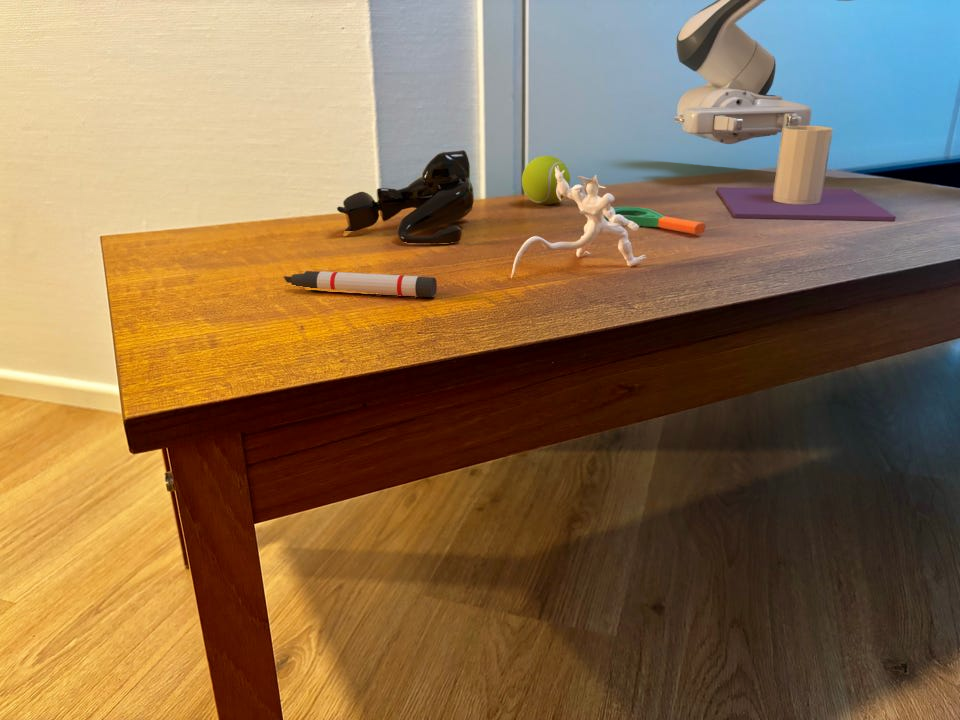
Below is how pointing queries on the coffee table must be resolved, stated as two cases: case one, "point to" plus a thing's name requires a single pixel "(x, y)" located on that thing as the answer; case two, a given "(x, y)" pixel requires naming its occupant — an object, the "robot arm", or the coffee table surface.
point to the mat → (802, 206)
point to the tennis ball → (543, 179)
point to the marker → (367, 283)
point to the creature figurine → (589, 221)
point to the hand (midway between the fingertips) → (767, 123)
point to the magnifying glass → (658, 220)
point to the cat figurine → (420, 201)
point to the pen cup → (802, 164)
